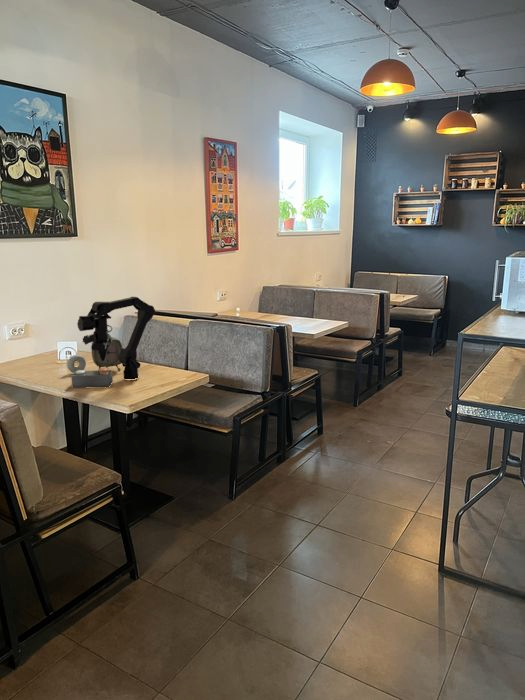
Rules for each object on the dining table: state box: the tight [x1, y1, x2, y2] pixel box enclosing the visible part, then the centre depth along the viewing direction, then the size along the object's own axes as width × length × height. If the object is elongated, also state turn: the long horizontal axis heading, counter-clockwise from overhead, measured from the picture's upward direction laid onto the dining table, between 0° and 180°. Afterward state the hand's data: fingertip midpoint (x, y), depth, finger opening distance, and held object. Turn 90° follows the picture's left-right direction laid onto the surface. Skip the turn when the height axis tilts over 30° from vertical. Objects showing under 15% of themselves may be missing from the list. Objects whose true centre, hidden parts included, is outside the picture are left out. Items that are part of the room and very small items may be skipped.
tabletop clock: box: [91, 324, 123, 372], centre depth 270 cm, size 14×9×25 cm, turn 118°
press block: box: [71, 369, 114, 389], centre depth 246 cm, size 17×9×6 cm, turn 96°
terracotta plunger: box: [98, 367, 109, 374], centre depth 246 cm, size 4×4×6 cm
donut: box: [66, 354, 87, 374], centre depth 267 cm, size 10×4×10 cm, turn 138°
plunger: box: [75, 369, 86, 375], centre depth 245 cm, size 4×4×6 cm
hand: (103, 360), depth 245 cm, fingers closed
